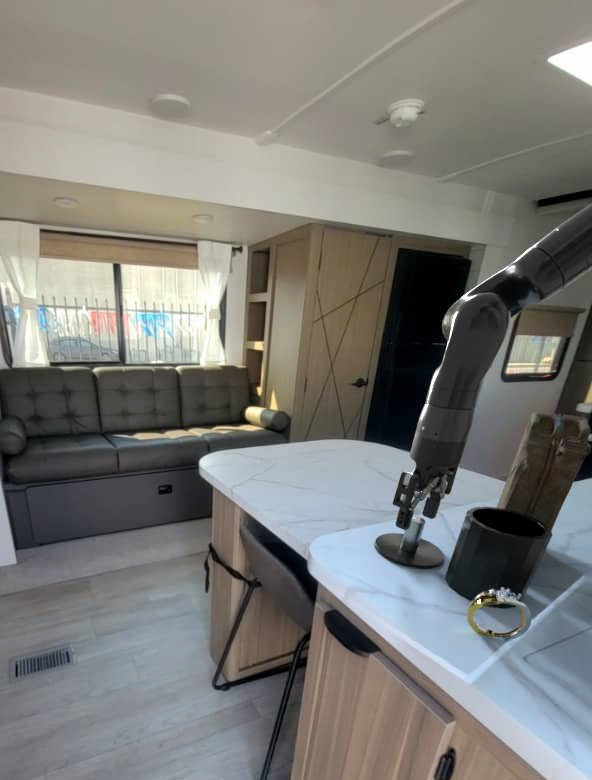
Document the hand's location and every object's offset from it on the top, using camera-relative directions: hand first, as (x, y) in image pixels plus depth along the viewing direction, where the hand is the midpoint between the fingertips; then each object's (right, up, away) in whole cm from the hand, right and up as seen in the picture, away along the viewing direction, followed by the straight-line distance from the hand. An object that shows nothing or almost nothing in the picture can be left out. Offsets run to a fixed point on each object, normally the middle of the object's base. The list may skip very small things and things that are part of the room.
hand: (415, 522), depth 72 cm
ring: (+1, -16, -17) cm, 23 cm away
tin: (+7, -11, -7) cm, 15 cm away
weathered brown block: (+20, -6, +5) cm, 22 cm away
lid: (0, -5, +3) cm, 6 cm away
